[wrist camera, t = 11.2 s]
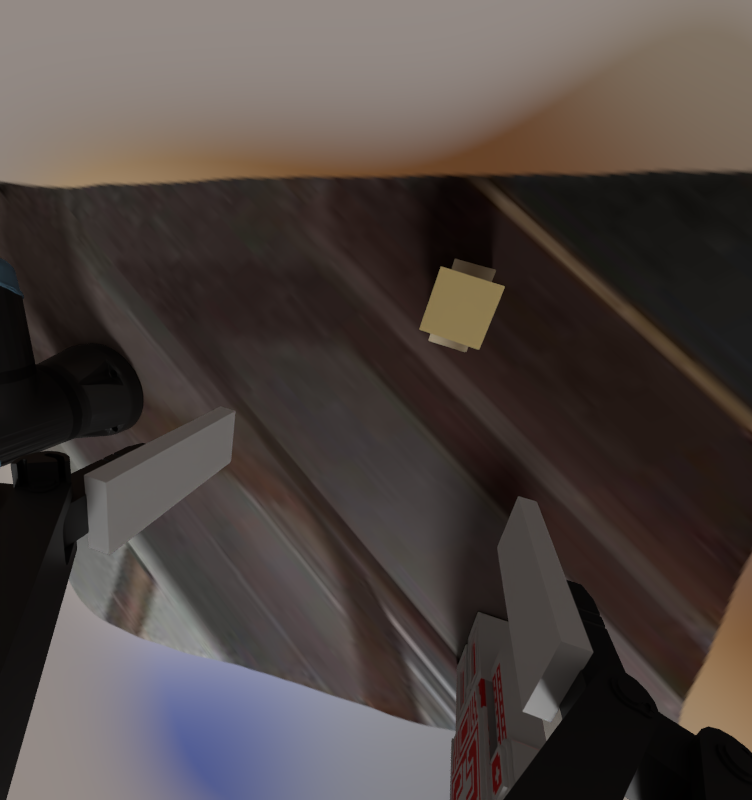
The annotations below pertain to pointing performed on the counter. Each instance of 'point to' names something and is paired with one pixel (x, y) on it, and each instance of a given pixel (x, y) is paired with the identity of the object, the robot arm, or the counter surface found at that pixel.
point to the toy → (490, 717)
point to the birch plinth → (472, 271)
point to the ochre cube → (461, 307)
